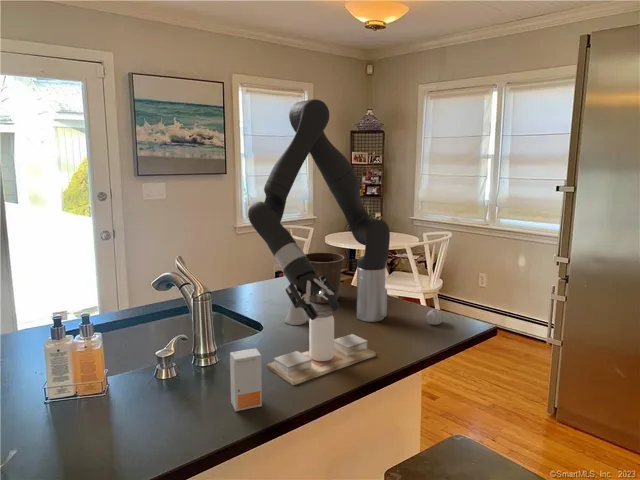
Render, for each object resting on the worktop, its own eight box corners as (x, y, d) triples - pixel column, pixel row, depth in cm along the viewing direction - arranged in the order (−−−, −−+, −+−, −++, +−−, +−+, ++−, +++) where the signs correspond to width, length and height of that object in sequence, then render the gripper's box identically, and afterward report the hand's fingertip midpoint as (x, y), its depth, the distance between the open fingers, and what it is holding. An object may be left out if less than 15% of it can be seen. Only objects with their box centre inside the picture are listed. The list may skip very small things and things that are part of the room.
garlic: (436, 328, 149) (436, 312, 149) (421, 323, 153) (422, 308, 153) (447, 324, 153) (447, 308, 152) (433, 319, 157) (433, 304, 156)
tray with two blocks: (346, 342, 139) (346, 330, 138) (375, 355, 130) (375, 343, 129) (266, 367, 123) (266, 354, 122) (293, 385, 113) (293, 371, 113)
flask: (280, 324, 154) (280, 294, 152) (290, 317, 160) (289, 288, 158) (301, 327, 151) (300, 296, 149) (310, 319, 158) (310, 290, 156)
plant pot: (344, 305, 172) (345, 261, 169) (299, 305, 172) (299, 261, 169) (343, 292, 188) (343, 252, 185) (302, 292, 188) (301, 252, 185)
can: (331, 363, 122) (331, 318, 120) (306, 361, 124) (306, 316, 121) (336, 353, 128) (336, 310, 126) (312, 350, 130) (312, 308, 128)
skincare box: (235, 412, 102) (233, 359, 99) (230, 403, 105) (228, 352, 103) (263, 406, 104) (261, 354, 102) (257, 397, 108) (256, 347, 106)
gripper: (281, 260, 121) (315, 313, 115) (319, 251, 131) (352, 299, 126) (268, 276, 125) (300, 329, 120) (305, 266, 136) (336, 314, 130)
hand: (326, 313), depth 123 cm, fingers open, 8 cm apart
